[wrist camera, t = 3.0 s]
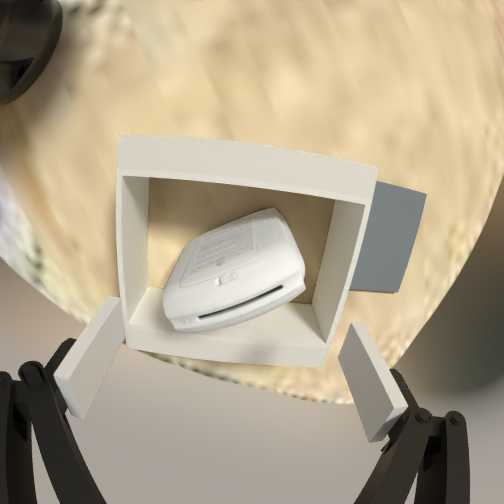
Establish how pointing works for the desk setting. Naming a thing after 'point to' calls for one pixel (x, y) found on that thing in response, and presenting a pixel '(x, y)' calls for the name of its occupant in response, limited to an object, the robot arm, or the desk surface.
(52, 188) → the desk surface
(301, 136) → the desk surface
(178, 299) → the photo printer
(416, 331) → the desk surface
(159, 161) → the carton
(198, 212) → the desk surface
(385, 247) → the mat
